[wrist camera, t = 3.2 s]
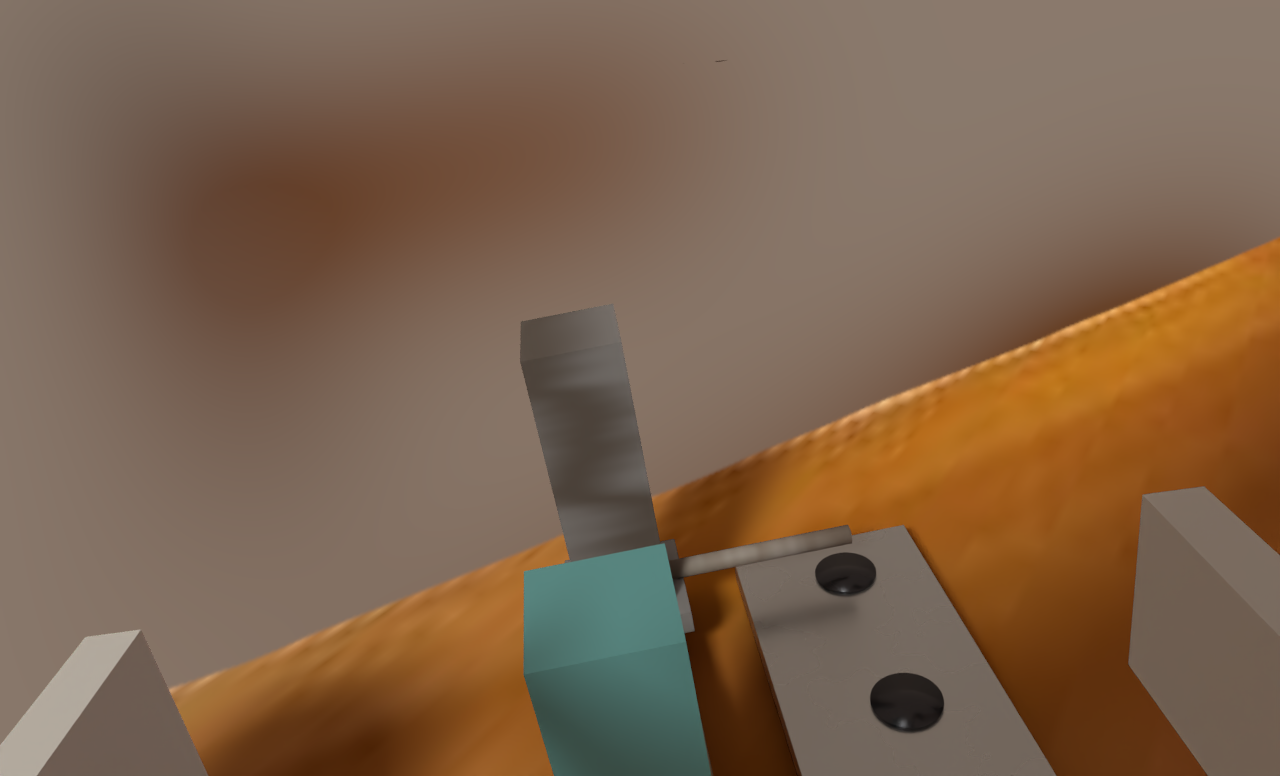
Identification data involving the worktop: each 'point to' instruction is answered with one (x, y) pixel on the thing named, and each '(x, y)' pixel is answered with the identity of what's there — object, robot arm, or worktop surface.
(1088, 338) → the worktop surface
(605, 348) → the grey l-shaped piece
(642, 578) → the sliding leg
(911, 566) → the plate
